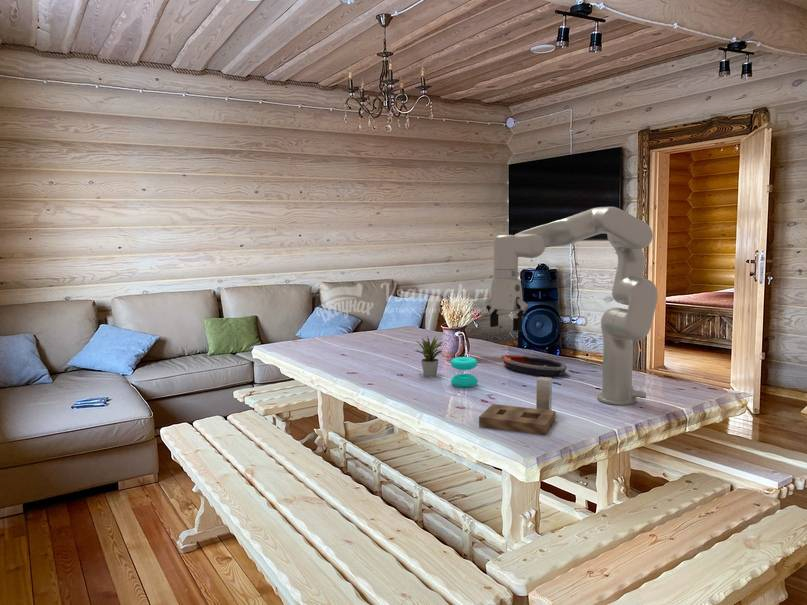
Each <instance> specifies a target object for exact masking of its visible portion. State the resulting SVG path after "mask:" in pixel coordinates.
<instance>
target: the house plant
mask: <svg viewBox="0 0 807 605" xmlns="http://www.w3.org/2000/svg"><path fill="white" fill-rule="evenodd" d="M426 337H427V339H426V340H425V339H424V338H423V337H421V340H422V342H421V343H420V342H419V341H416V343H417V344H418V345H419V346H420V347H421V349H422V350H421V351H420V350H415V351H413V352H415V353H420V354H422V355H423V357H424V358H422V359H421V367H422V371H423V376H425V377H436V376H437V373H438V368H439V359H438V358H436V357H437V356H438V355H439V354H441V355H443V356H444V353H443V348H441V349H438V348H440V347H441V346H445V345H446V344H444V343H445V342H446V341H447V339H445V340H442V341H439V342H438V339H439V337H436V336H434V337H433V338H432V341H430V339H429V336H428V335H426Z"/></svg>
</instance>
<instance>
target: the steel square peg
mask: <svg viewBox="0 0 807 605" xmlns="http://www.w3.org/2000/svg"><path fill="white" fill-rule="evenodd" d="M552 385H553V378H552V377H548V376H538V378H537V379H536V400H535V401H536V405H535V406H536V408H535V409H542V410H551V411H552V403H553V402H552V400H553V398H552V397H553V396H552V393H553V392H552V391H553V390H552V388H553V386H552Z"/></svg>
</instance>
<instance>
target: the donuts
mask: <svg viewBox="0 0 807 605" xmlns="http://www.w3.org/2000/svg"><path fill="white" fill-rule="evenodd" d="M450 365H451V366H452V368H454V369H456V370H459V371H469V370H472V369H475V368H476V367H477V366H478V361H477V359H476V358H474V357H470V356H460V357H459V356H458V357H454V358H452V359H451V361H450ZM450 383H451V384H452V386H454V387H458V388H472V387H474V386H476V385H477V384H478V378H477V377H476V376H475V375H473V374H469V373H458V374H455V375H454V376H452V377H451V379H450Z"/></svg>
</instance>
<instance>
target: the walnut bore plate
mask: <svg viewBox="0 0 807 605" xmlns="http://www.w3.org/2000/svg"><path fill="white" fill-rule="evenodd" d="M555 422H556V411H555V410H552V409H551V410H542V409H536V408H531V407H524V406H523V407H522V406H515V405H514V406H513V405H505V404H496V403H492V404H491V405H490V406H489V407H488V408H486V409H485V411H483V412H482V413H481V414H480V415H479V416H478V427H480V428H490V429H495V430H504V431H512V432H518V433H520V432H521V433H526V434H527V433H528V434H533V435H541V436H546V435H547V433H548V432H549V430H550V429H551V428H552V426H553V424H554V423H555Z"/></svg>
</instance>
